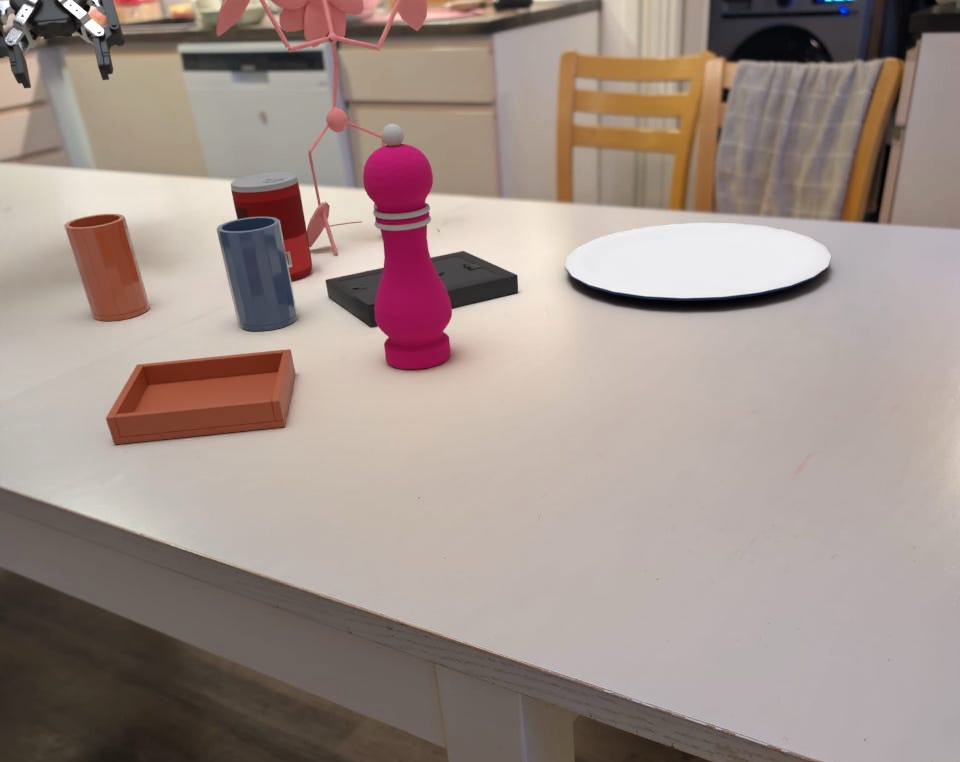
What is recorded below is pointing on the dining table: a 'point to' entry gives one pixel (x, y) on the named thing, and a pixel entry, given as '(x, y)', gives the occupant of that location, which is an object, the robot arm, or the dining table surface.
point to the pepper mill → (406, 256)
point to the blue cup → (258, 273)
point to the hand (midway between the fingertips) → (65, 78)
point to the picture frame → (457, 271)
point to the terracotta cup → (107, 266)
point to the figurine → (318, 10)
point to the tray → (203, 397)
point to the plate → (698, 261)
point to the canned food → (277, 212)
